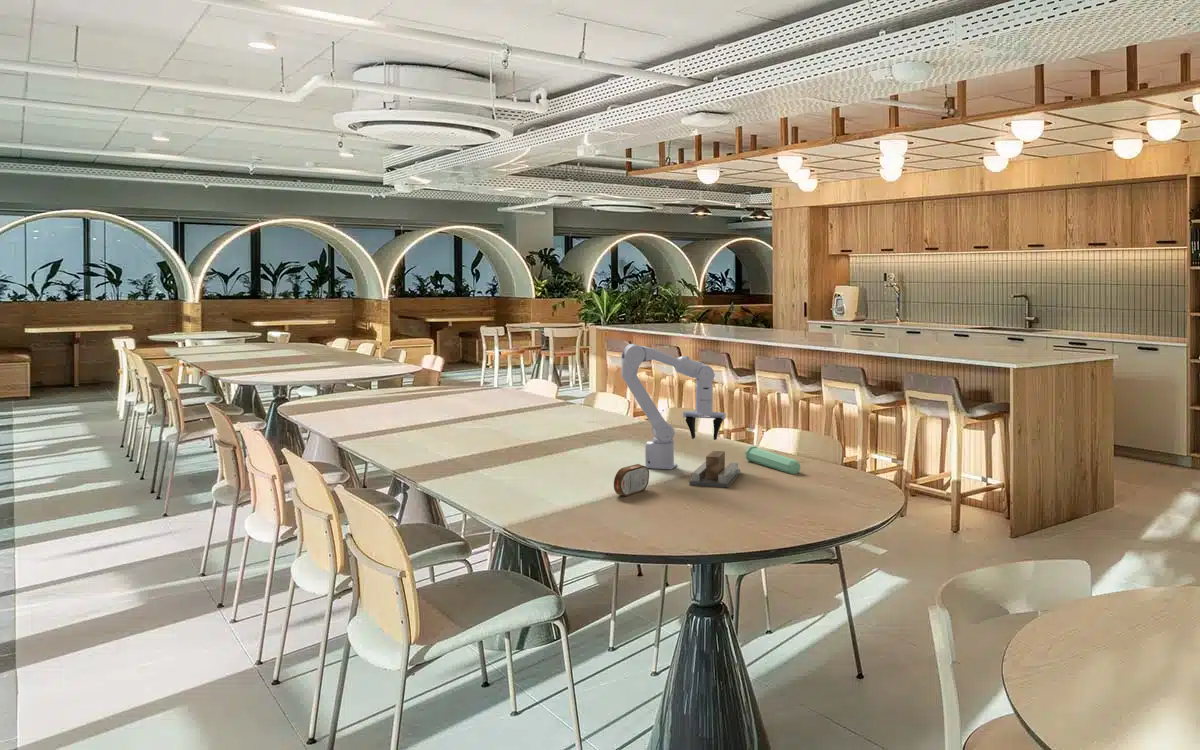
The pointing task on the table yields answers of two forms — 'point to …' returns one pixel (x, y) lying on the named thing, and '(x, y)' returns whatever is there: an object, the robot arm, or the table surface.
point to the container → (772, 460)
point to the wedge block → (715, 464)
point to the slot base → (722, 481)
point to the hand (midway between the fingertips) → (704, 438)
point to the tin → (631, 480)
